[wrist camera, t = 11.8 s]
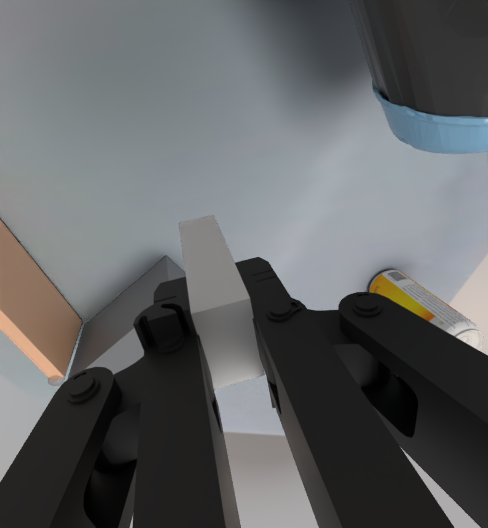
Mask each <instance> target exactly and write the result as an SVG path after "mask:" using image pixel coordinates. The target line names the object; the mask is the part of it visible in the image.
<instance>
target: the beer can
mask: <svg viewBox="0 0 488 528" xmlns="http://www.w3.org/2000/svg"><path fill="white" fill-rule="evenodd" d="M370 292H371V293H378V294H380V295H383V296H385V297H387V298H389V299H391V300H392V301H394V302H396V303H398V304H399V305H401V306H403V307H405V308H406V309H408V310H410V311H411V312H413V313H415V314H417V315H418V316H420V317H422V318H424V319H425V320H427V321H429V322H430V323H432V324H434V325H436V326H437V327H439V328H441V329H443V330H444V331H446V332H448V333H449V334H451V335H453V336H455V337H456V338H458V339H460V340H462V341H463V342H465V343H467V344H469V345H470V346H472V347H474V348H475V349H477V350H480V349H481V347H482V345H483V341H484V337H483V335H482V333H481V332H480V331H479V329H478V327H477V325H476V324H475V323H473V322H472V321H470V320H469V319H468V318H466V317H465V316H463V315H462V314H460V313H459V312H458V311H456V310H454V309H453V308H452V307H450V306H449V305H447V304H446V303H445V302H443V301H442V300H440V299H439V298H437V297H436V296H435V295H433V294H432V293H430V292H429V291H427V290H426V289H425V288H423V287H422V286H420V285H419V284H417V283H416V282H415V281H413V280H412V279H410V278H409V277H407V276H406V275H404V274H403V273H402V272H400V271H398V270H389V271H384V272H382V273H380V274H379V275H377V276H376V277H375V278H374V279H373V281H372V282H371V285H370Z"/></svg>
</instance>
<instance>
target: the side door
mask: <svg viewBox="0 0 488 528" xmlns="http://www.w3.org/2000/svg"><path fill="white" fill-rule="evenodd" d="M81 325H82V320H81V319H80V318H79V317H78V315H77V314H76V313H75V312H74V310H73V309H72V308H71V307H70V305H69V304H68V303H67V302H66V300H65V299H64V298H63V297H62V295H61V294H60V293H59V292H58V290H57V289H56V288H55V287H54V286H53V284H52V283H51V282H50V281H49V279H48V278H47V277H46V276H45V274H44V273H43V272H42V271H41V269H40V268H39V267H38V266H37V264H36V263H35V262H34V261H33V259H32V258H31V257H30V256H29V255H28V253H27V252H26V251H25V250H24V248H23V247H22V246H21V245H20V243H19V242H18V241H17V240H16V238H15V237H14V236H13V235H12V233H11V232H10V231H9V230H8V229H7V227H6V226H5V225H4V224H3V222H2V221H1V220H0V329H1V330H2V331H3V332H4V333H5V334H6V335H7V336H8V337H9V338H10V339H11V340H12V341H13V342H14V343H15V344H16V345H17V346H18V347H19V348H20V349H21V350H22V351H23V352H24V353H25V354H26V355H27V356H28V357H29V358H30V359H31V360H32V361H33V362H34V363H35V364H36V365H37V366H38V367H39V368H40V369H41V370H42V371H43V372H44V373H45V374H46V375H47V376H48V377H49V378H48V383H49V384H50V385H52V386H59V385H61V384H62V383H63V381H64V378H65V375H66V372H67V369H68V366H69V363H70V359H71V356H72V353H73V350H74V347H75V344H76V341H77V338H78V335H79V331H80V328H81Z"/></svg>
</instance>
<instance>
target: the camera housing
mask: <svg viewBox="0 0 488 528" xmlns="http://www.w3.org/2000/svg"><path fill="white" fill-rule="evenodd" d="M182 277H186V273H185V272H184V271H183V270H182V269H181V268H180V267H179V266H178V265H176V264H175V263H174V262H173V261H172V260H171V259H170V258H169V257H168V256H167V255H166V256H165V257H164V258H163V259H162V260H160V261H159V262H158V263H157V264H156V265H155V266H153V267H152V268H151V269H150V270H149V271H148V272H146V273H145V274H144V275H143V276H142V277H141V278H139V279H138V280H137V281H136V282H135V283H134V284H132V285H131V286H130V287H129V288H128V289H126V290H125V291H124V292H123V293H122V294H121V295H119V296H118V297H117V298H116V299H115V300H114V301H112V302H111V303H110V304H109V305H108V306H107V307H105V308H104V309H103V310H102V311H101V312H100V313H98V314H97V315H96V316H95V317H94V318H93V319H91V320H90V321H89V322H88V323H87V324H86V325H84V328H83V331H82V334H81V337H80V341H79V344H78V347H77V350H76V354H75V357H74V360H73V363H72V367H71V370H70V373H69V376H68V379H69V378H71V377H72V376H73V375H75V374H77V373H79V372H81V371H83V370H85V369H89V368H93V367H106V368H107V369H109V370H111V371H112V373H113V375H114V374H116V373H117V372H119V371H121V370H123V369H125V368H127V367H129V366H130V365H132V364H134V363H135V362H137V361H138V360H139V359H140V358H142V357H143V356H144V350H143V347H142V345H141V343H140V340H139V338H138V335H137V333H136V331H135V328H134V326H133V323H134V321H135V318H136V317H137V316H138V315H139V314H140V313H141V312H142V311H143V310H145V309H146V308H148V307H149V306H151V305H153V303H154V302H153V300H154V291H155V290H156V288H157V287H158V285H159V284H160V283H162V282H166V281H170V280H174V279H178V278H182Z"/></svg>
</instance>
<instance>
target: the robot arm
mask: <svg viewBox="0 0 488 528" xmlns="http://www.w3.org/2000/svg"><path fill="white" fill-rule="evenodd" d="M349 2H350V5H351V8H352V12H353V15H354V18H355V21H356V25H357V28H358V31H359V34H360V38H361V41H362V45H363V48H364V52H365V55H366V59H367V62H368V66H369V69H370V73H371V76H372V85H373V92H374V94H375V96H376V98H377V99H378V100H379V101H380V102H381V105H382V107H383V110H384V113H385V116H386V119H387V121H388V124H389V127H390V129H391V131H392V132H393V134H394V135H395V136H396V137H397V138H398V139H399V140H400V141H402V142H404V143H406V144H409V145H411V146H412V147H413V148H416V149H419V150H423V151H427V152H433V153H442V154H467V153H479V152H487V151H488V0H349ZM179 228H180V236H181V243H182V251H183V258H184V266H185V273H186V277H182V278H178V279H174V280H170V281H166V282H162V283H160V284H159V285H158V287H157V288H156V290H155V291H154V300H153V302H154V303H153V305H151V306H149V307H148V308H146V309H145V310H143V311H142V312H141V313H140V314H139V315H138V316H137V317H136V318H135V321H134V323H133V326H134V328H135V331H136V333H137V335H138V338H139V340H140V343H141V345H142V347H143V350H144V356H143V357H142V358H140V359H139V360H138V361H137V362H135V363H134V364H132V365H130V366H129V367H127V368H125V369H123V370H121V371H119V372H117V373H116V374H114V375H113V373H112V371H111V370H109V369H107V368H106V367H93V368H89V369H85V370H83V371H81V372H79V373H77V374H75V375H73V376H72V377H71V378H69V379H68V380H67V381H65V382H64V383H63V384H62V385H61V387H60V388H59V389H58V390H57V392H56V393H55V395H54V396H53V398H52V399H51V401H50V403H49V404H48V406H47V408H46V409H45V411H44V412H43V414H42V416H41V417H40V419H39V420H38V422H37V424H36V425H35V427H34V429H33V430H32V432H31V433H30V435H29V437H28V438H27V440H26V442H25V443H24V445H23V447H22V448H21V450H20V451H19V453H18V455H17V456H16V458H15V460H14V461H13V463H12V464H11V466H10V468H9V469H8V471H7V472H6V474H5V476H4V477H3V479H2V480H1V482H0V528H129V527H130V523H131V520H132V516H133V528H241V525H240V520H239V515H238V510H237V505H236V498H235V493H234V488H233V482H232V477H231V472H230V466H229V461H228V455H227V450H226V445H225V440H224V434H223V429H222V423H221V418H220V412H219V407H218V403H217V400H216V397H215V393H214V390H215V389H219V388H222V387H225V386H229V385H232V384H236V383H239V382H242V381H246V380H249V379H252V378H256V377H259V376H262V375H265V374H264V370H265V373H266V376H267V381H268V386H269V391H270V397H271V402H272V407H273V408H275V407H276V410H277V413H278V416H279V418H280V421H281V424H282V427H283V429H284V432H285V435H286V438H287V440H288V443H289V446H290V448H291V451H292V454H293V457H294V460H295V462H296V465H297V468H298V471H299V474H300V476H301V479H302V482H303V485H304V488H305V490H306V493H307V496H308V499H309V501H310V504H311V507H312V510H313V512H314V515H315V518H316V521H317V524H318V526H319V528H454V526H453V525H452V524H451V522H450V520H449V519H448V517H447V516H446V514H445V513H444V511H443V510H442V509H441V507H440V506H439V504H438V503H437V501H436V500H435V498H434V497H433V495H432V494H431V492H430V491H429V489H428V488H427V486H426V485H425V483H424V482H423V480H422V479H421V477H420V476H419V474H418V473H417V471H416V470H415V468H414V467H413V465H412V464H411V463H410V461H409V460H408V458H407V457H406V455H405V454H404V452H403V451H402V449H403V450H404V451H405V452H406V453H407V454H408V455H409V456H410V457H411V458H412V459H413V460H414V461H415V462H416V463H417V464H418V465H419V466H420V467H421V468H422V469H423V470H424V471H425V472H426V473H427V474H428V475H429V476H430V477H431V478H432V479H433V480H434V481H435V482H436V483H437V484H438V485H439V486H440V487H441V488H442V489H443V490H444V491H445V492H446V493H447V494H448V495H449V496H450V497H451V498H452V499H453V500H454V501H455V502H456V503H457V504H458V505H459V506H460V507H461V508H462V509H463V510H464V511H465V512H466V513H467V514H468V515H469V516H470V517H471V518H472V519H473V520H474V521H475V522H476V523H477V524H478V525H479V526H480V527H481V528H488V355H486V354H484V353H482V352H480V351H479V350H477V349H475V348H474V347H472V346H470V345H469V344H467V343H465V342H463V341H462V340H460V339H458V338H456V337H455V336H453V335H451V334H449V333H448V332H446V331H444V330H443V329H441V328H439V327H437V326H436V325H434V324H432V323H430V322H429V321H427V320H425V319H424V318H422V317H420V316H418V315H417V314H415V313H413V312H411V311H410V310H408V309H406V308H405V307H403V306H401V305H399V304H398V303H396V302H394V301H392V300H391V299H389V298H387V297H385V296H383V295H380V294H378V293H371V292H357V293H353V294H350V295H347V296H346V297H345V298H343V299H342V300H341V302H340V304H339V310H326V311H315V310H309V309H307V308H306V307H305V305H304V304H302V303H301V302H300V301H298V300H296V299H293V298H291V297H290V295H289V294H288V292H287V290H286V289H285V287H284V286H283V284H282V283H281V281H280V279H279V278H278V277H277V275H276V273H275V272H274V271H273V268H272V267H271V265H270V264H269V262H268V261H266V260H264V259H262V258H260V257H256V258H252V259H248V260H244V261H240V262H236V263H235V262H234V260H233V258H232V256H231V253H230V251H229V249H228V246H227V244H226V242H225V239H224V237H223V235H222V233H221V230H220V228H219V226H218V223H217V221H216V219H215V216H214V215H211V216H207V217H202V218H198V219H194V220H190V221H186V222H181V223H179ZM263 368H264V369H263ZM400 447H401V448H402V449H401V448H400ZM133 512H134V513H133Z"/></svg>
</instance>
